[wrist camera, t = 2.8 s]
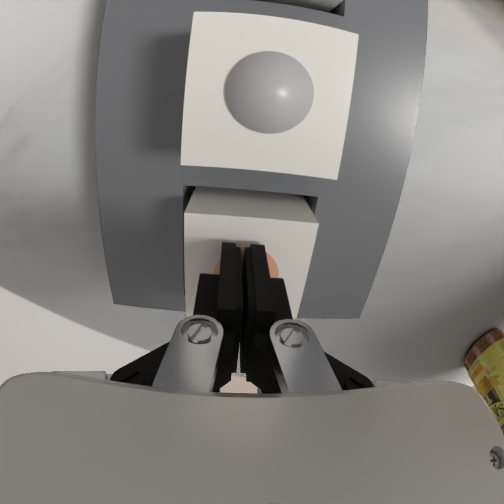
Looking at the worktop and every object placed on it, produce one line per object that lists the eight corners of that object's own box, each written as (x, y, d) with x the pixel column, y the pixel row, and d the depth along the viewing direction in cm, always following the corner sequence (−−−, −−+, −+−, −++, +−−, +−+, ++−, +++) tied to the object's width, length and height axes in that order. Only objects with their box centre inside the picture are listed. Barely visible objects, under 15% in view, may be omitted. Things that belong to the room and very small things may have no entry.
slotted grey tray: (399, -42, 8) (424, -57, 6) (345, 288, 19) (358, 318, 16) (150, -74, 7) (135, -97, 4) (128, 274, 18) (114, 303, 15)
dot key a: (299, 190, 15) (319, 224, 11) (284, 274, 17) (295, 323, 13) (198, 181, 14) (183, 213, 11) (195, 268, 17) (185, 317, 13)
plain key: (324, 50, 10) (359, 33, 7) (310, 155, 13) (337, 180, 9) (207, 36, 10) (193, 10, 6) (197, 144, 12) (180, 165, 9)
